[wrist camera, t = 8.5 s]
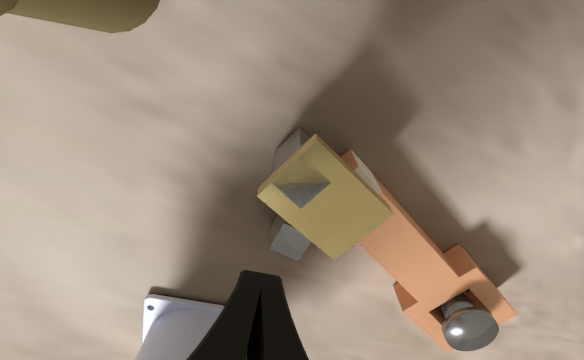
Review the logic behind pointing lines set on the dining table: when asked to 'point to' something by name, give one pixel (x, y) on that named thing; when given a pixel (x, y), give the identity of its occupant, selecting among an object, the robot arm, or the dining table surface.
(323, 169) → the stand
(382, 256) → the link
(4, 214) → the dining table surface
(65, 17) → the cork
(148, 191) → the dining table surface
